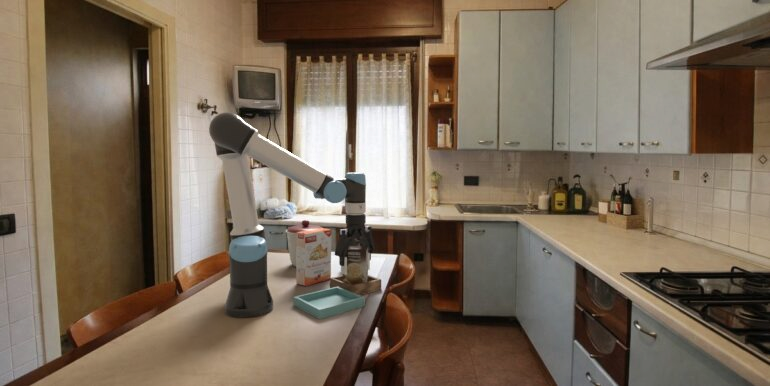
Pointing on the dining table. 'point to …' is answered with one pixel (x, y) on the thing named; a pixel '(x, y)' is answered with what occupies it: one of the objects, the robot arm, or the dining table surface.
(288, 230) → the canister
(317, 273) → the cracker box
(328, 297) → the tray
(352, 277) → the coffee box
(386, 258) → the dining table surface
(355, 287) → the holder
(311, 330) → the dining table surface
